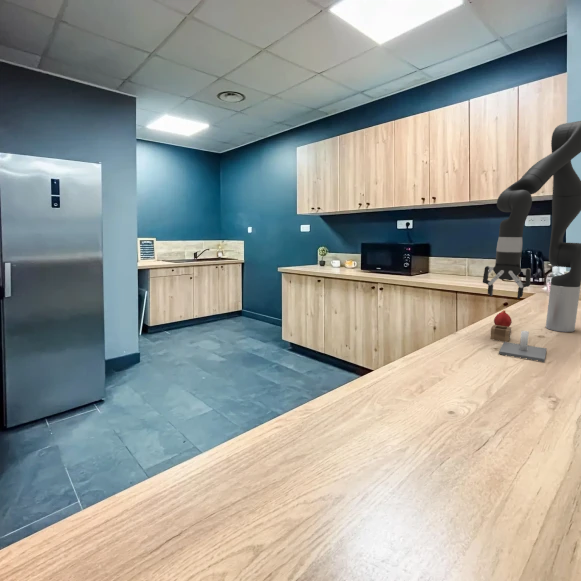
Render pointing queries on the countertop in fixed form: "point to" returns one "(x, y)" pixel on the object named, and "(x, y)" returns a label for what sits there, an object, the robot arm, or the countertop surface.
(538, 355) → the post stand
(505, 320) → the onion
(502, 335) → the ring
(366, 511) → the countertop surface
